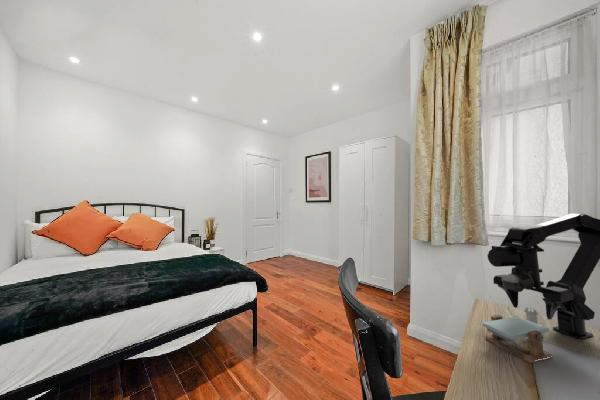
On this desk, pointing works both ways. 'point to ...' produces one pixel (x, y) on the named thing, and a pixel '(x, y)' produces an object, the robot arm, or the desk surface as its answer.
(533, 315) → the rook chess piece
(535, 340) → the flap frame
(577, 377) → the desk surface
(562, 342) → the desk surface
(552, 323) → the desk surface
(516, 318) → the pivoting flap
